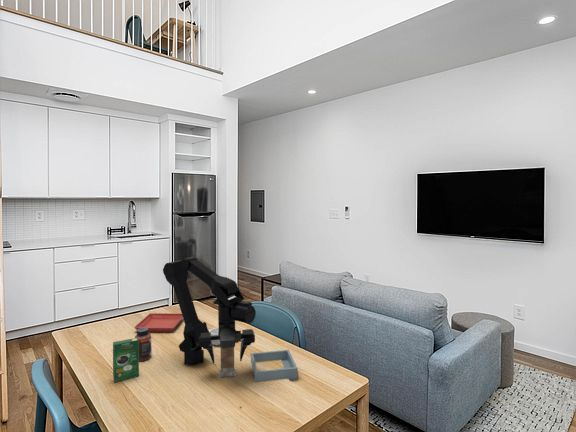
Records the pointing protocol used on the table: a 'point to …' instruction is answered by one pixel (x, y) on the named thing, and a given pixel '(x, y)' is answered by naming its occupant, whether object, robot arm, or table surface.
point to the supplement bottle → (144, 344)
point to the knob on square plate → (228, 376)
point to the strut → (227, 361)
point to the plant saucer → (160, 322)
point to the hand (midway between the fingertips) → (227, 361)
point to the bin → (287, 372)
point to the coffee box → (125, 359)
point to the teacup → (213, 333)
